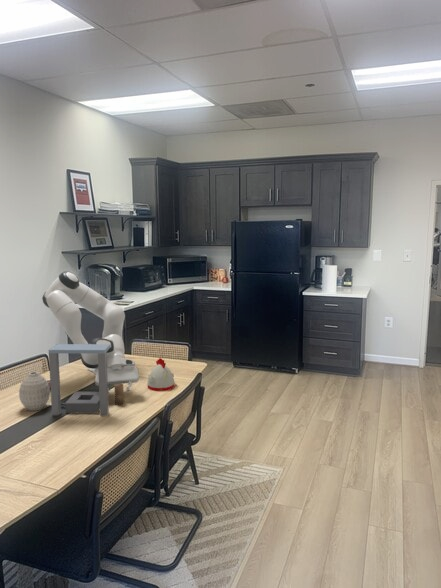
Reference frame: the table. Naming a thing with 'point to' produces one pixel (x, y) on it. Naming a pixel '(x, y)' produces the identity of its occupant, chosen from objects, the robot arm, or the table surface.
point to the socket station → (80, 400)
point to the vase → (34, 391)
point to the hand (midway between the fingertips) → (118, 391)
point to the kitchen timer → (161, 377)
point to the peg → (119, 394)
